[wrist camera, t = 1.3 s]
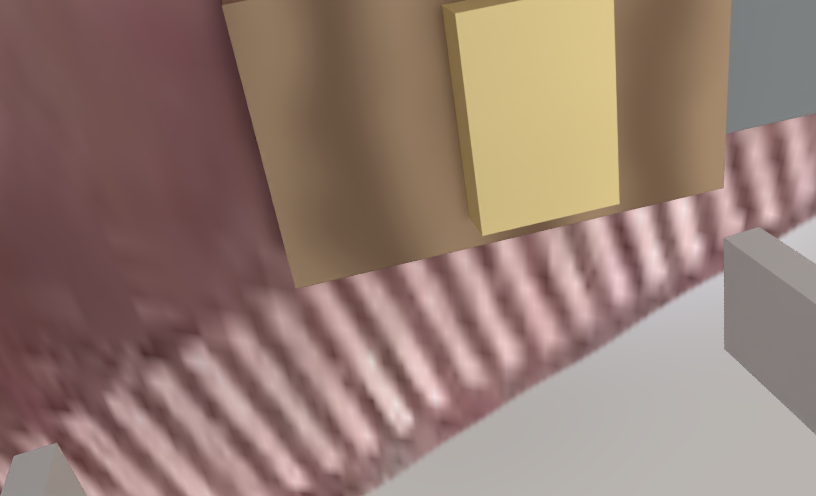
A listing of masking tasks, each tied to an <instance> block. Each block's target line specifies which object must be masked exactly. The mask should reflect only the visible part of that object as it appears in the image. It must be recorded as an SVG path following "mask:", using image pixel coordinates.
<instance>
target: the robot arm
mask: <svg viewBox="0 0 816 496" xmlns="http://www.w3.org/2000/svg"><path fill="white" fill-rule="evenodd" d="M724 338H725V339H724V340H725V342H724V344H725V346H724V347H725V350H726V351H727V352H729V353H730V355H732V356H733V357H734V358H735V359H736V360H737V361H738V362H739V363H740V364H741V365H742V366H743V367H744V368H746V370H748V371H749V372H750V373H751V374H752V375H753V376H754V377H755V378H756V379H757V380H758V381H759V382H761V384H762V385H764V386H765V387H766V388H767V389H768V390H769V391H770V392H771V393H772V394H773V395H774V396H775V397H776V398H777V399H779V400H780V401H781V402H782V403H783V404H784V405H785V406H786V407H787V408H788V409H789V410H790V411H791V412H793V413H794V415H796V416H797V417H798V418H799V419H800V420H801V421H802V422H803V423H804V424H805V425H806V426H807V427H808V428H810V429H811V430H812V431H813V432H814V433H815V434H816V264H815V263H813V262H812V261H810V260H809V259H807V258H806V257H804V256H802V255H801V254H800V253H798V252H797V251H795V250H793V249H792V248H790V247H789V246H787V245H786V244H784V243H783V242H781V241H780V240H778V239H777V238H775V237H774V236H772V235H771V234H769V233H768V232H766V231H764V230H763V229H761V228H760V227H758V228H755V229H751V230H748V231H745V232H742V233H738V234H735V235H732V236H729V237H725V238H724ZM0 496H87V495H86V493H85V491H84V489H83V488H82V486H81V484H80V482H79V481H78V479H77V477H76V475H75V474H74V472H73V470H72V468H71V467H70V465H69V463H68V461H67V460H66V458H65V456H64V454H63V453H62V451H61V449H60V447H59V446H58V444H57V443H55V444H51V445H48V446H45V447H42V448H38V449H35V450H32V451H28V452H25V453H22V454H19V455H15V456H14V457H13V460H12V463H11V466H10V469H9V472H8V475H7V478H6V481H5V483H4V486H3V489H2V492H1V495H0Z"/></svg>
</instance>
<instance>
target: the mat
mask: <svg viewBox="0 0 816 496" xmlns="http://www.w3.org/2000/svg"><path fill="white" fill-rule="evenodd" d="M814 113H816V0H731V21H730V45H729V70H728V94H727V118H726V134H727V133H731V132H735V131H740V130H744V129H749V128H753V127H757V126H762V125H766V124H771V123H775V122H779V121H784V120H788V119H793V118H797V117H801V116H806V115H810V114H814Z"/></svg>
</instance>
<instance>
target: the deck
mask: <svg viewBox="0 0 816 496" xmlns="http://www.w3.org/2000/svg"><path fill="white" fill-rule="evenodd" d="M460 1H465V0H222V9H223V13H224V17H225V21H226V24H227V28H228V32H229V36H230V40H231V44H232V47H233V51H234V55H235V59H236V63H237V67H238V70H239V74H240V78H241V82H242V86H243V90H244V93H245V97H246V101H247V105H248V109H249V113H250V117H251V120H252V124H253V128H254V132H255V136H256V140H257V143H258V147H259V151H260V155H261V159H262V163H263V166H264V170H265V174H266V178H267V182H268V186H269V189H270V193H271V197H272V201H273V205H274V209H275V212H276V216H277V220H278V224H279V228H280V232H281V236H282V239H283V243H284V247H285V251H286V255H287V259H288V262H289V266H290V270H291V274H292V278H293V282H294V285H295V289H298V288H302V287H307V286H311V285H315V284H319V283H323V282H328V281H332V280H336V279H340V278H345V277H349V276H353V275H357V274H362V273H366V272H370V271H374V270H379V269H383V268H387V267H391V266H395V265H400V264H404V263H408V262H412V261H417V260H421V259H425V258H429V257H434V256H438V255H442V254H446V253H451V252H455V251H459V250H463V249H467V248H472V247H476V246H480V245H484V244H489V243H493V242H497V241H501V240H506V239H510V238H514V237H518V236H523V235H527V234H531V233H535V232H539V231H544V230H548V229H552V228H556V227H561V226H565V225H569V224H573V223H578V222H582V221H586V220H590V219H595V218H599V217H603V216H607V215H611V214H616V213H620V212H624V211H628V210H633V209H637V208H641V207H645V206H650V205H654V204H658V203H662V202H666V201H671V200H675V199H679V198H683V197H688V196H692V195H696V194H700V193H705V192H709V191H713V190H717V189H722V188H724V166H725V142H726V118H727V94H728V70H729V45H730V21H731V0H614V24H615V60H616V95H617V131H618V167H619V202H620V204H617V205H613V206H609V207H604V208H600V209H596V210H591V211H587V212H583V213H579V214H574V215H570V216H566V217H562V218H557V219H553V220H549V221H545V222H540V223H536V224H532V225H528V226H523V227H519V228H515V229H511V230H506V231H502V232H498V233H494V234H489V235H485V236H482V235H481V233H480V232H479V230H478V229H477V227H476V226H475V224H474V223H473V222H472V220H471V219H470V217H469V211H468V203H467V195H466V187H465V180H464V172H463V164H462V157H461V149H460V141H459V134H458V126H457V118H456V111H455V103H454V95H453V88H452V80H451V72H450V64H449V57H448V49H447V41H446V34H445V26H444V18H443V11H442V5H445V4H450V3H455V2H460Z"/></svg>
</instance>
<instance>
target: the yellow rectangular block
mask: <svg viewBox="0 0 816 496" xmlns="http://www.w3.org/2000/svg"><path fill="white" fill-rule="evenodd" d="M442 11H443V18H444V26H445V34H446V41H447V49H448V57H449V64H450V72H451V80H452V88H453V95H454V103H455V111H456V118H457V126H458V134H459V141H460V149H461V157H462V164H463V172H464V180H465V187H466V195H467V203H468V211H469V217H470V219H471V220H472V222H473V223H474V224H475V226H476V227H477V229H478V230H479V232H480V233H481V235H482V236H485V235H489V234H494V233H498V232H502V231H506V230H511V229H515V228H519V227H523V226H528V225H532V224H536V223H540V222H545V221H549V220H553V219H557V218H562V217H566V216H570V215H574V214H579V213H583V212H587V211H591V210H596V209H600V208H604V207H609V206H613V205H617V204H620V202H619V167H618V131H617V95H616V60H615V24H614V0H465V1H460V2H455V3H450V4H445V5H442Z"/></svg>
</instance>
